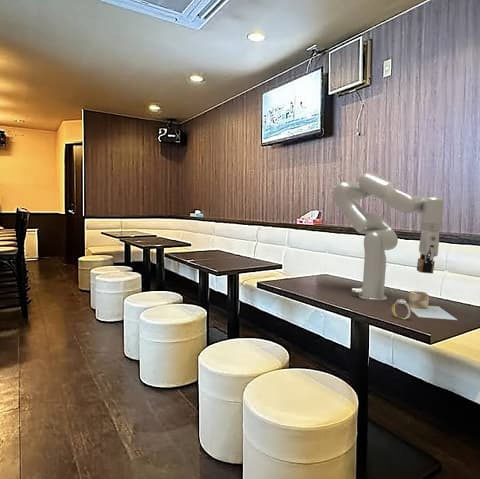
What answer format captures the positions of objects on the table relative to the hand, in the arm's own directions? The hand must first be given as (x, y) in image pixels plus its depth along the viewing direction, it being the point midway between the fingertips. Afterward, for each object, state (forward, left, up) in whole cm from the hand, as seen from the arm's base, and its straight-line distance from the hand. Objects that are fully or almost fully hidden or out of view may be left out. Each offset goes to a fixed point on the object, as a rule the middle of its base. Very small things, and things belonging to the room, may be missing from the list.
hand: (424, 270), depth 163 cm
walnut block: (0, 0, 0) cm, 0 cm away
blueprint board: (+2, -4, -17) cm, 17 cm away
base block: (-1, +2, -16) cm, 16 cm away
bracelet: (-13, -18, -17) cm, 28 cm away
